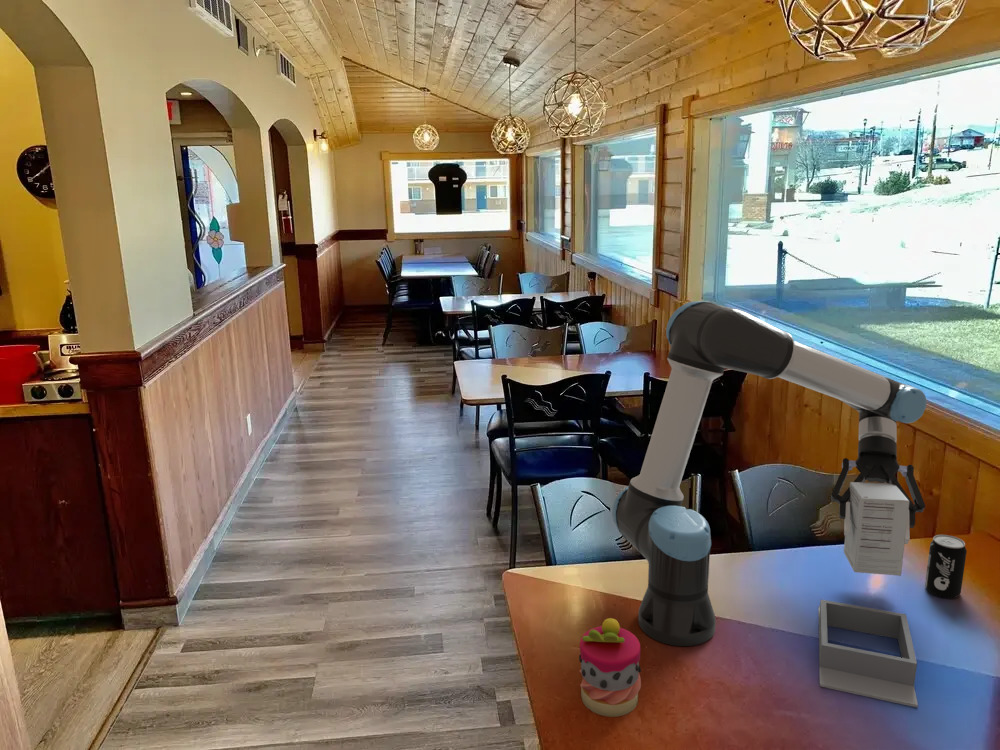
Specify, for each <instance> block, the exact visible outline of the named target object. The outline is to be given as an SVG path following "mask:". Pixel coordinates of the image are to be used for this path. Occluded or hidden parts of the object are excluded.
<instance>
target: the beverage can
mask: <svg viewBox="0 0 1000 750" xmlns="http://www.w3.org/2000/svg"><path fill="white" fill-rule="evenodd" d="M967 551H968V550H967V548H966V543H965V541H964V540H963V539H961V538H959V537H957V536H953V535H950V534H949V535H948V534H937V535H934V536H933V538H932V541H931V542H930V544H929V551H928V557H927V558H928V559H927V566H926V574H925V582H924V586H925V588H926V589H927V591H928V592H929V593H930V594H932V595H934V596H935V597H938V598H941V599H942V598H943V599H955V598H957V597H958V596H960V595H961V594H962V593H961V592H962V589H963V588H962V586H963V580H964V579H963V578H964V572H965V564H966V558H967Z"/></svg>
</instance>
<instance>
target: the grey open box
mask: <svg viewBox="0 0 1000 750" xmlns="http://www.w3.org/2000/svg"><path fill="white" fill-rule="evenodd" d="M817 609H818V654H819V655H818V658H819V660H818V661H819V664H818V665H819V666H818V667H819V668H818V669H819V687H822V688H825V689H830V690H835V691H840V692H845V693H850V694H854V695H857V696H858V695H859V696H863V697H868V698H872V699H876V700H881V701H885V702H891V703H895V704H900V705H904V706H908V707H912V708H916V709H917V708H918V706H919V703H918V698H917V694H916V690H915V683H916V677H917V676H916V675H917V666H918V662H917V658H916V657H917V656H916V654H915V653H916V652H915V648H914V643H913V639H912V636H911V635H912V634H911V632H910V626H909V621H908V618H907V614H906V613H902V612H901V613H900V612H895V611H890V610H885V609H878V608H872V607H867V606H866V607H865V606H861V605H856V604H850V603H843V602H839V601H832V600H828V599H827V600H826V599H820V604H819V605H818V608H817ZM828 627H831V628H832V627H833V628H838V629H842V630H847V631H848V630H849V631H854V632H858V633H865V634H871V635H874V636H879V637H880V636H881V637H886V638H890V639H896V640H897V641H898V646H899V652H901V653H900V656H895V655H891V654H886V653H885V654H884V653H880V652H875V651H869V650H864V649H859V648H856V647H849V646H846V645H845V646H844V645H840V644H834V643H830V642H828V640H829V639H828ZM901 657H902V658H901Z"/></svg>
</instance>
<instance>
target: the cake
mask: <svg viewBox="0 0 1000 750" xmlns="http://www.w3.org/2000/svg"><path fill="white" fill-rule="evenodd" d="M641 650H642V649H641V643H640V641H639V639H638V638H637V636H636V635H635V634H634V633H632V632H631V631H630V630H628V629H625V628H622V627H621V626H620V623H619V622H618V620H617V619H615V618H612V617H609V618H606V619H604V620H603V621H602V625H601V626H596V627H595V626H594V627H593V628H589V630H586V631H585V632H584V634H583V635H582V636H581V637H580V640H579V651H580V654H579V655H578V660H579V661H578V662H579V663H580V669H579V671H578V672H579V673H580V675H581V677H582V679H581V683H580V685H579V686H580V697H581V701H582V703H583V705H584V706H585V708H587V709H588V710H590V711H591V713H595V714H597V715H600V716H602V717H610V718H614V717H615V718H616V717H622V716H625V715H628V714H630V713H631V712H633V711H634V710H635V709H636V707H637V705H638V700H639V693H640V690H641V688H642V678H641V676H640V673H641V672H642V668H641V666H640V663H639V662H640V660H641Z"/></svg>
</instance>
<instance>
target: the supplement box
mask: <svg viewBox="0 0 1000 750" xmlns="http://www.w3.org/2000/svg"><path fill="white" fill-rule="evenodd" d="M849 487H850V498H849V500H848V502H850V524H849V534H848V536H846V535H844V545H843V546H844V547H843V553H844V555H845V558H846V559H847V562H848V563H849V565H850V567H851V569H852V571H853V572H854V573H859V574H873V575H883V576H884V575H887V576H899V577H901V576H902V572H903V564H904V563H903V562H904V561H903V560H904V553H905V536H906V527H907V518H908V509H909V500H908V499H907V498H906V497H905V496H904V494H903V493H902V492H901V491H900V490H899V488H898V487H897V486H896V485H893V484H888V483H886V482H884V483H880V482H854V481H850V482H849Z"/></svg>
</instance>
